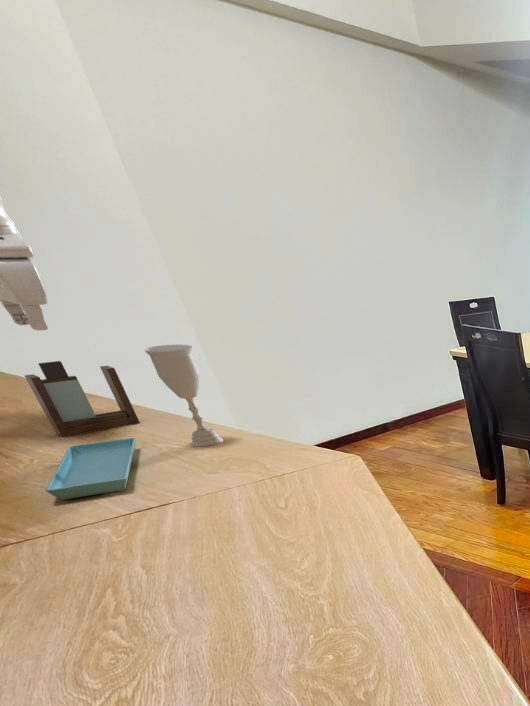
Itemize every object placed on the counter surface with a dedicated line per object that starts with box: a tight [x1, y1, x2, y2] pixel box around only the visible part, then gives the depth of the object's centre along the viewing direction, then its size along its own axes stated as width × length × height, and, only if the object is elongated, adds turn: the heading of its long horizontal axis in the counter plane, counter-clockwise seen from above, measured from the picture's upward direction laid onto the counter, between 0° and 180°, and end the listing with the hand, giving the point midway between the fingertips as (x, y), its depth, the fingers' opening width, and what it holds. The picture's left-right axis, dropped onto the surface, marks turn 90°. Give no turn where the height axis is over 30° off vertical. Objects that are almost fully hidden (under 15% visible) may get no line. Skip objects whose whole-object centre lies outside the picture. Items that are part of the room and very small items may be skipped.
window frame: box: [24, 365, 141, 437], centre depth 119 cm, size 12×4×12 cm, turn 149°
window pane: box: [38, 360, 96, 422], centre depth 116 cm, size 5×1×12 cm, turn 149°
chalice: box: [143, 344, 224, 447], centre depth 113 cm, size 7×7×18 cm
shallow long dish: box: [44, 437, 137, 500], centre depth 101 cm, size 26×9×2 cm, turn 39°
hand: (32, 327), depth 110 cm, fingers open, 8 cm apart
